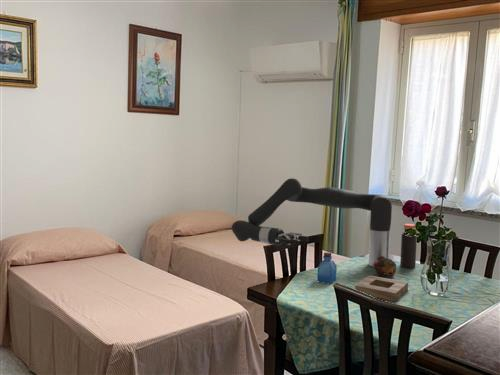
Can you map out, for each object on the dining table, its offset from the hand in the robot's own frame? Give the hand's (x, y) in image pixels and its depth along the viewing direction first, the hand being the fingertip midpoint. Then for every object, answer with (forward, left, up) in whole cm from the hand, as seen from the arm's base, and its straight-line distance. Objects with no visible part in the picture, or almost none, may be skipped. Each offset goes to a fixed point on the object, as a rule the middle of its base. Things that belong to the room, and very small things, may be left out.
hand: (303, 241), depth 214 cm
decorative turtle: (-21, +29, -16) cm, 39 cm away
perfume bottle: (0, +11, -16) cm, 20 cm away
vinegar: (-42, +33, -16) cm, 56 cm away
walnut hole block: (+1, +35, -16) cm, 39 cm away
